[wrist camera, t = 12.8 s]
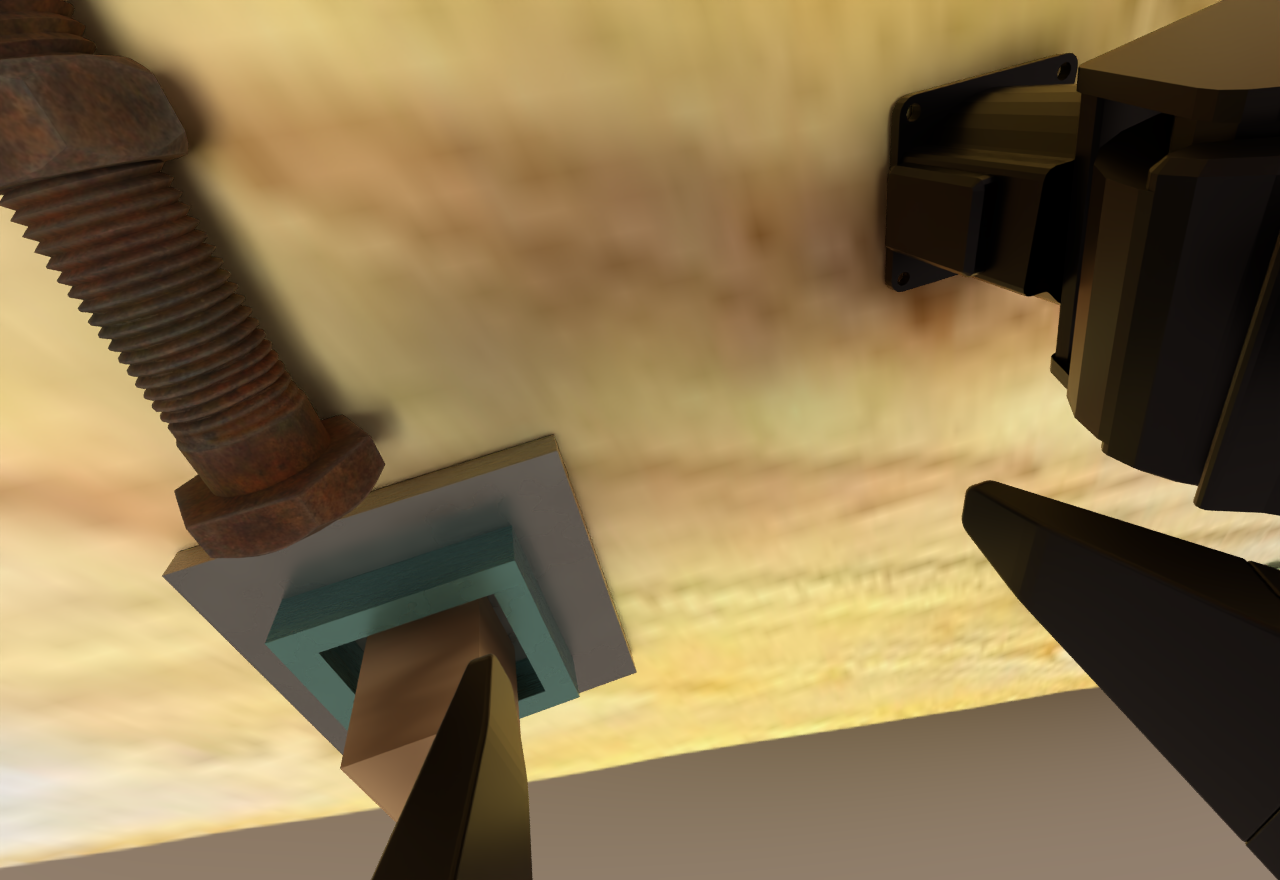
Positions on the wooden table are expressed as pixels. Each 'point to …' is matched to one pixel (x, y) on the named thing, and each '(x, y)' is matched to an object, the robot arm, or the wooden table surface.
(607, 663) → the socket plate
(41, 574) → the wooden table surface
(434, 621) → the walnut peg
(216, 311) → the bolt
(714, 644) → the wooden table surface
